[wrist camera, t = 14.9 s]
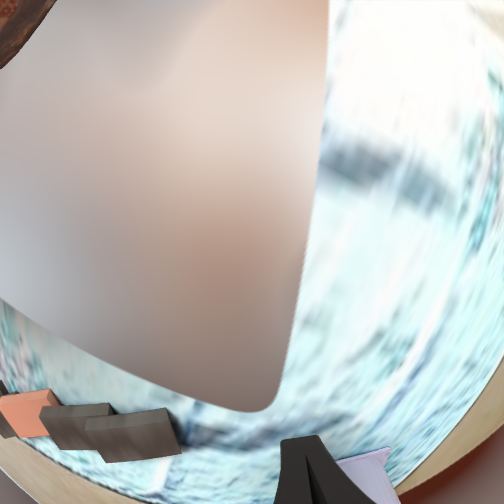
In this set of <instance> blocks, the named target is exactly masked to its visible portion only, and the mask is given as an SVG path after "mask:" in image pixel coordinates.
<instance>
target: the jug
mask: <svg viewBox="0 0 504 504" xmlns="http://www.w3.org/2000/svg"><path fill="white" fill-rule="evenodd" d="M56 1H57V0H0V69H2V68H3V67H4V66H5V65H6V64H7V63H8V62H9V61H10V60H11V59H12V58H13V57H14V56H15V55H16V54H17V53H18V52H19V51H20V49H21V48H22V47H23V46H24V44H25V43H26V42H27V41H28V40H29V38H30V37H31V36H32V34H33V33H34V31H35V30H36V29H37V28H38V26H39V25H40V24H41V22H42V21H43V19H44V18H45V16H46V15H47V13H48V12H49V11H50V9H51V8H52V6H53V5H54V3H55V2H56Z"/></svg>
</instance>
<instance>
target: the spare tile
mask: <svg viewBox="0 0 504 504" xmlns="http://www.w3.org/2000/svg"><path fill="white" fill-rule="evenodd" d="M42 406H60V404H59V402H58V401H57V399H56V398H55V396H54V394H53V393H52V391H51V389H50V388H49V389H44V390H38V391H33V392H27V393H21V394H15V395H8V396H1V398H0V411H1V412H2V414H3V415H4V417H5V418H6V420H7V421H8V422H9V424H10V425H11V427H12V428H13V429H14V431H15V432H16V433H17V435H18V436H19V437H20V438H26V437H38V436H48V435H49V433H48V432H47V430H46V428H45V427H44V425H43V424H42V422H41V420H40V419H39V414H40V411H41V409H42Z"/></svg>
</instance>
